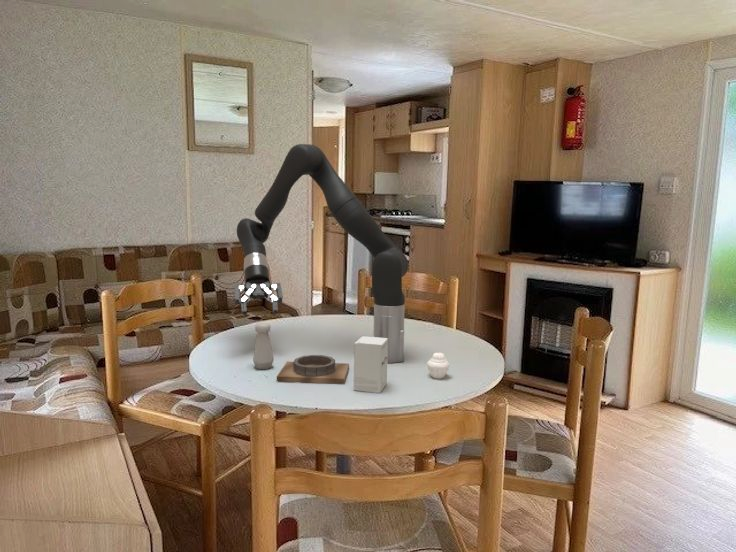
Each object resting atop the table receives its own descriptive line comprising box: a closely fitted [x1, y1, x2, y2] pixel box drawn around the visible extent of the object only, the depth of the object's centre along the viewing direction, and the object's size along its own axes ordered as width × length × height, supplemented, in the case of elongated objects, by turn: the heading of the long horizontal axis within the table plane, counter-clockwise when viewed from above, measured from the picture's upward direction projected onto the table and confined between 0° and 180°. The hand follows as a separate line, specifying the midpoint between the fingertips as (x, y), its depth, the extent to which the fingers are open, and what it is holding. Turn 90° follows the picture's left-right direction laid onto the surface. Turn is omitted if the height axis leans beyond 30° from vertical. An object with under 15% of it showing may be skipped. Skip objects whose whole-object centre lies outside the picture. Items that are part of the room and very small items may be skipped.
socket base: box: [276, 354, 350, 385], centre depth 147 cm, size 18×13×4 cm
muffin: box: [426, 352, 450, 379], centre depth 147 cm, size 6×6×7 cm
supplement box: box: [353, 335, 388, 394], centre depth 137 cm, size 7×7×13 cm
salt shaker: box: [252, 322, 275, 370], centre depth 152 cm, size 6×6×13 cm
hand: (260, 313), depth 159 cm, fingers open, 8 cm apart
